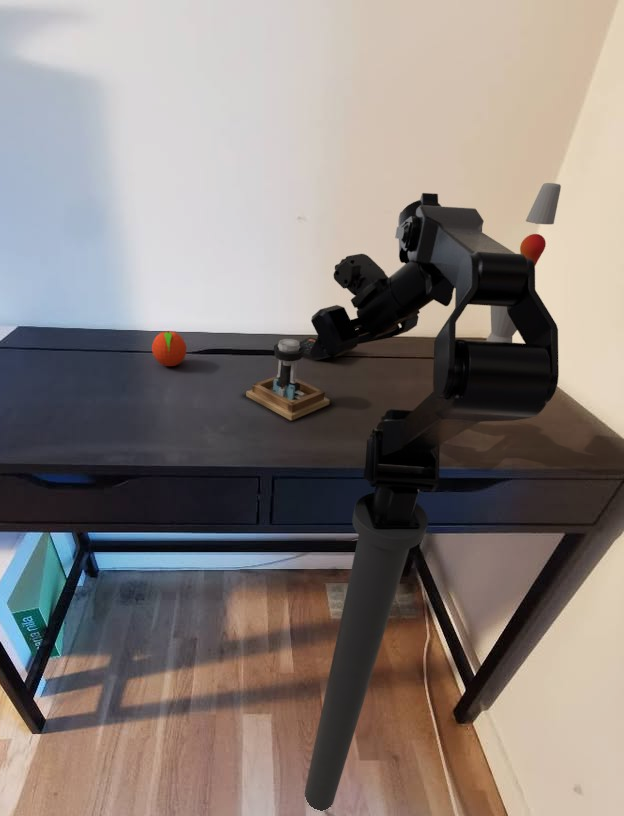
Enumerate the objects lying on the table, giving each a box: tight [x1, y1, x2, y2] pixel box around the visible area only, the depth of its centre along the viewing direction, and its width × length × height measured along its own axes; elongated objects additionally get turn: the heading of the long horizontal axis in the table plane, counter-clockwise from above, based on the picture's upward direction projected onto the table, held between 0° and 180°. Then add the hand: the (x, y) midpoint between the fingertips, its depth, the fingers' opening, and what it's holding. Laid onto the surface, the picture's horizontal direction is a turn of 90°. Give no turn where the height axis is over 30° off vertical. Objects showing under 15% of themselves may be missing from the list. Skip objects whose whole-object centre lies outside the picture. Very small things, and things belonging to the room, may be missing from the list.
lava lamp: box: [485, 182, 562, 343], centre depth 98 cm, size 9×9×35 cm
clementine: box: [151, 330, 187, 367], centre depth 100 cm, size 8×7×7 cm
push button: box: [273, 338, 304, 400], centre depth 88 cm, size 7×5×10 cm
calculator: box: [299, 337, 328, 361], centre depth 110 cm, size 9×12×3 cm
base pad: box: [246, 375, 331, 421], centre depth 90 cm, size 12×10×2 cm
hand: (331, 348), depth 76 cm, fingers open, 9 cm apart
